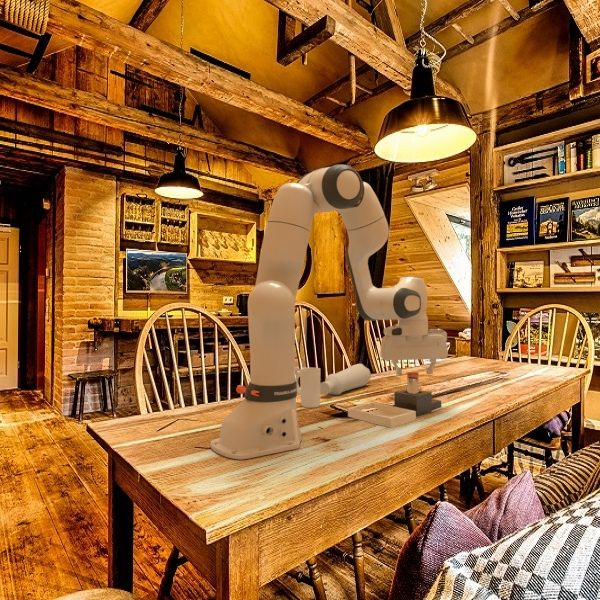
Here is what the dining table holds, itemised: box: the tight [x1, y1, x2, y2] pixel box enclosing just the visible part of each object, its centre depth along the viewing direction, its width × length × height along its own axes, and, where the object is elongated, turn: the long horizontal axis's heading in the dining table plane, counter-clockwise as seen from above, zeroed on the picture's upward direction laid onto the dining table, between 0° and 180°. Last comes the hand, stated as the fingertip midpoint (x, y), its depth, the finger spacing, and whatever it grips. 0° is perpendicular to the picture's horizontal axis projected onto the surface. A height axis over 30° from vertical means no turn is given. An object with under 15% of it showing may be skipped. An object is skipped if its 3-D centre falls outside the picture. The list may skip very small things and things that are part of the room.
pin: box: [406, 371, 420, 394], centre depth 129 cm, size 3×3×12 cm
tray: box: [347, 401, 417, 429], centre depth 122 cm, size 12×16×2 cm
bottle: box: [320, 363, 372, 396], centre depth 160 cm, size 9×9×30 cm
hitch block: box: [393, 388, 442, 418], centre depth 132 cm, size 16×8×6 cm, turn 131°
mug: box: [295, 367, 321, 409], centre depth 139 cm, size 10×7×12 cm, turn 47°
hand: (414, 374), depth 129 cm, fingers open, 8 cm apart
